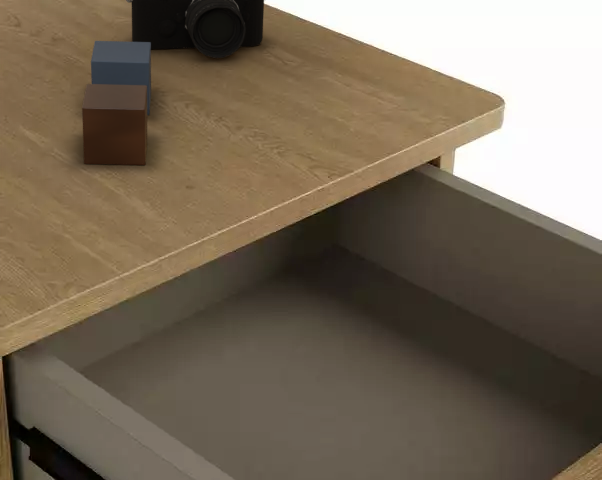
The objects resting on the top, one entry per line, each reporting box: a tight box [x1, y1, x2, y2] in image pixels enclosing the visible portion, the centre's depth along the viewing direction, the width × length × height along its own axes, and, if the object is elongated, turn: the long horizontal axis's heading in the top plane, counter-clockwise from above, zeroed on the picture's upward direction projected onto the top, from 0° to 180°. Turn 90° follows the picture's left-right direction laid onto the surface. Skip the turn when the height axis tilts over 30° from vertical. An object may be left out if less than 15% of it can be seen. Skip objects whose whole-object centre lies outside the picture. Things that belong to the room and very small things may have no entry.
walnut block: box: [81, 83, 148, 166], centre depth 107 cm, size 5×5×5 cm
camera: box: [125, 0, 265, 59], centre depth 127 cm, size 14×7×8 cm, turn 102°
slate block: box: [90, 40, 152, 117], centre depth 116 cm, size 5×5×5 cm
